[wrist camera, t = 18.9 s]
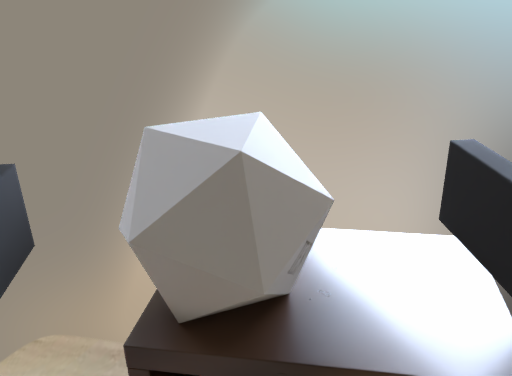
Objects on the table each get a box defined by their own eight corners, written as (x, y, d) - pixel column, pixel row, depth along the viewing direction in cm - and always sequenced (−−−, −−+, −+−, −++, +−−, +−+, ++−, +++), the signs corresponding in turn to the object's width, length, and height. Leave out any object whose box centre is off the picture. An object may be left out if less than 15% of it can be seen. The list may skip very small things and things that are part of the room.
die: (309, 388, 18) (395, 145, 19) (73, 321, 15) (190, 40, 16) (240, 324, 26) (303, 154, 27) (77, 272, 23) (155, 85, 24)
